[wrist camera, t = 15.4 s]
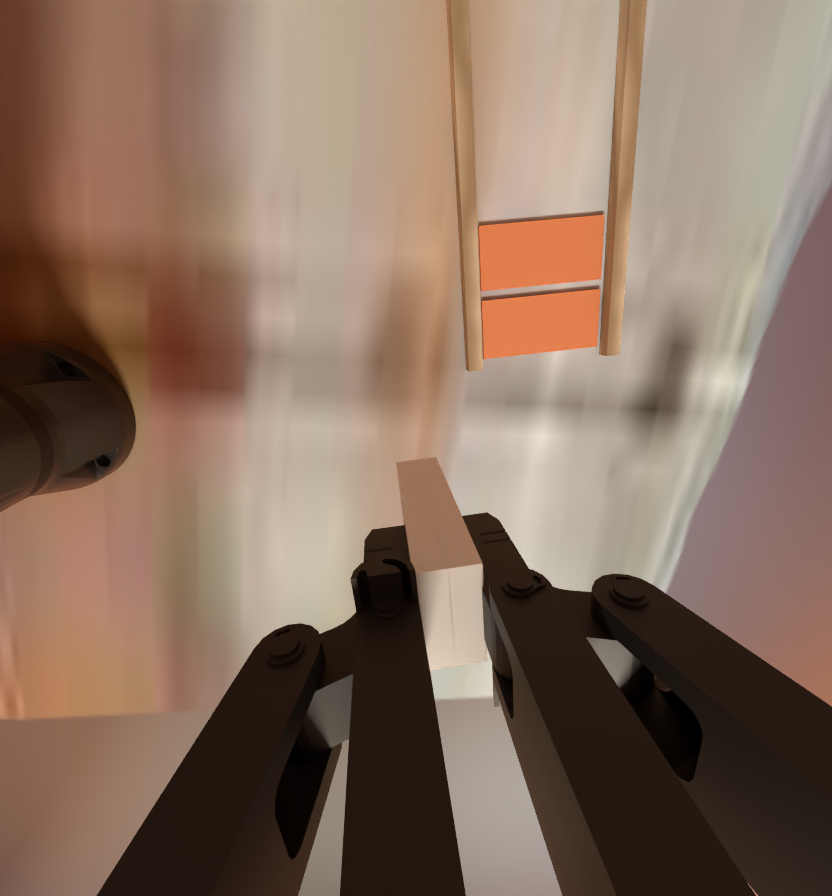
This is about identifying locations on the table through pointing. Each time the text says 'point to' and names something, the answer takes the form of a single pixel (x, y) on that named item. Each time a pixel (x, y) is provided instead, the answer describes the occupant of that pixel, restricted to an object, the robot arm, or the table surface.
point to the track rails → (620, 173)
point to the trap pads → (539, 263)
